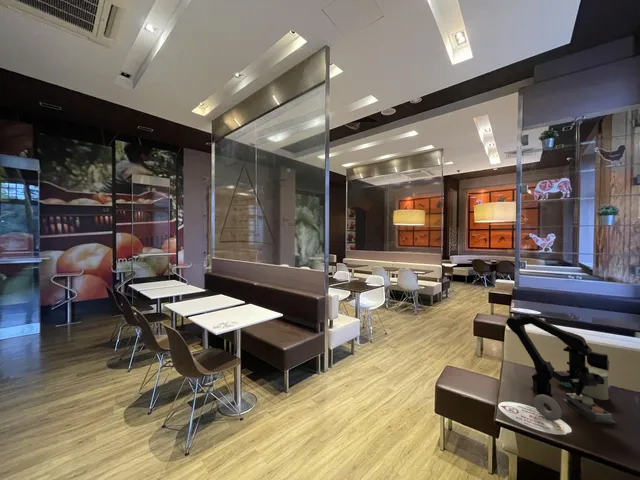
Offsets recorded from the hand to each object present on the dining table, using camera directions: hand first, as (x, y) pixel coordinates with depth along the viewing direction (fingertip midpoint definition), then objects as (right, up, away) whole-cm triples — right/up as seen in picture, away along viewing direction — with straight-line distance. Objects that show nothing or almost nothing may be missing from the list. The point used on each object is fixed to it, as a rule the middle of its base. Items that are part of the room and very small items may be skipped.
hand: (577, 395), depth 125 cm
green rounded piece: (0, -2, -5) cm, 5 cm away
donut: (-23, -5, -9) cm, 25 cm away
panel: (0, -4, -5) cm, 7 cm away
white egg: (0, -3, 0) cm, 4 cm away
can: (+17, -5, +8) cm, 19 cm away
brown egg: (-1, -3, -10) cm, 11 cm away
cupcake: (+11, -5, +17) cm, 20 cm away
